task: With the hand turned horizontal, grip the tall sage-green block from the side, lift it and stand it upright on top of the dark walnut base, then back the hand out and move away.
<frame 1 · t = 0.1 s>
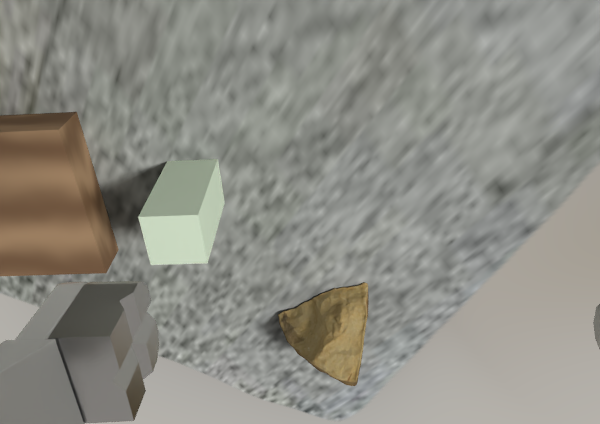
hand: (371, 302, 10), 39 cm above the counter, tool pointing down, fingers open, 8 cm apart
walnut base: (22, 189, 54), on the counter
rock: (322, 304, 62), on the counter
sage block: (196, 182, 53), on the counter
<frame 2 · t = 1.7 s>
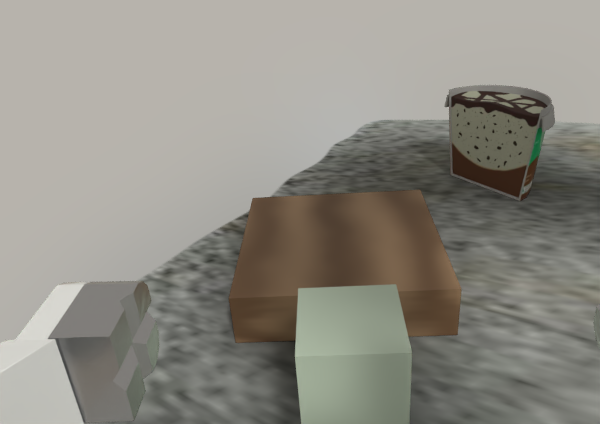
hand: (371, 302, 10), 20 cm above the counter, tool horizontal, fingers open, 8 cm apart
walnut base: (340, 276, 45), on the counter
food container: (500, 181, 60), on the counter
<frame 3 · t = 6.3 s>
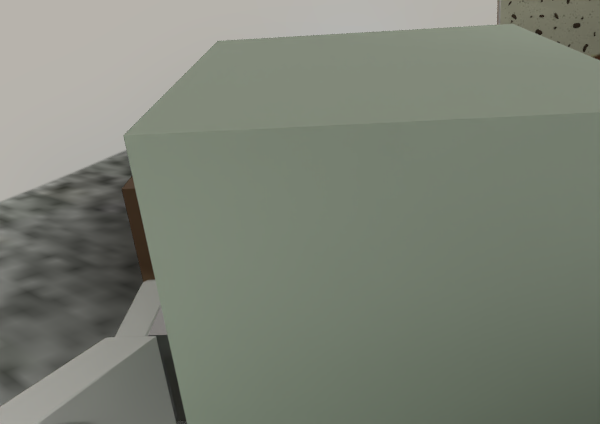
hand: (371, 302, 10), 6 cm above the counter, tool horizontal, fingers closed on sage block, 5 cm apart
walnut base: (341, 188, 27), on the counter
food container: (569, 87, 42), on the counter
when the fingers open (11 cm above the counter, at t = 11.4 s): sage block drops 1 cm, resting on walnut base.
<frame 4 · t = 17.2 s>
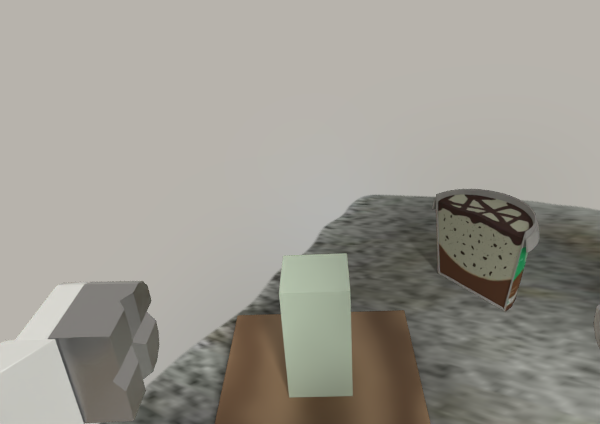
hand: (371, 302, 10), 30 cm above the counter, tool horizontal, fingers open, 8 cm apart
walnut base: (322, 408, 46), on the counter
sage block: (320, 373, 44), point 4 cm above the counter, touching walnut base
food container: (487, 282, 61), on the counter
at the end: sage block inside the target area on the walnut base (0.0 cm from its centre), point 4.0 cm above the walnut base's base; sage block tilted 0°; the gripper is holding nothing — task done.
